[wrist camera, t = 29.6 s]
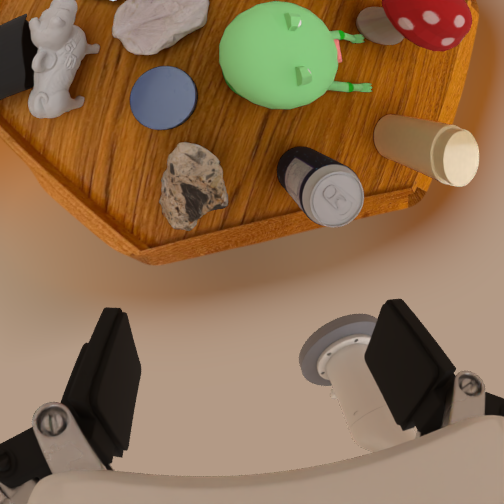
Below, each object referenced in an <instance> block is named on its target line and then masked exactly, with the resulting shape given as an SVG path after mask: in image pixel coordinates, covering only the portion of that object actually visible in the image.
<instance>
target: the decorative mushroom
mask: <svg viewBox="0 0 504 504" xmlns="http://www.w3.org/2000/svg"><path fill="white" fill-rule="evenodd" d="M382 6H383V7H368V8H365V9H363V10H362V11H361V12H360V13H359V15H358V17H357V20H356V26H357V28H358V31H359V32H360V33H361V34H362V35H363V36H364V37H365V38H366V39H368V40H370V41H372V42H375V43H379V44H384V45H394V44H397V43H399V42H400V41H402V40H403V39H404V37H405V38H406V39H408V40H409V41H411V42H413V43H414V44H416V45H417V46H420V47H423V48H426V49H429V50H432V51H446V50H448V49H451V48H453V47H455V46H457V45H458V44H459V43H460V42H461V41H462V39H463V38H464V36H465V35H466V34H467V33H468V32H469V30H470V28H471V24H472V15H471V12H470V9H469V7H468V5H467V4H466V2H465V1H464V0H382Z"/></svg>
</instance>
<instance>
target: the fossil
mask: <svg viewBox="0 0 504 504" xmlns="http://www.w3.org/2000/svg"><path fill="white" fill-rule="evenodd" d="M209 4H210V3H209V0H127V1H125V2H124V3H123V4H122V5H121V6H120V7H119V8H118V9H117V11H116V14H115V16H114V21H113V23H114V25H113V27H112V35H113V37H115V38H118V39H120V41H121V42H122V44H123V46H125V48H126V49H127V51H129V52H131V53H134V54H136V55H152V54H157V53H158V52H159V51H160V50H162V49H164V48H169V47H171V46H173V45H174V44H175V43H176V42H177V41H179V40H180V39H181V38H183V37H184V36H186V35H187V34H190V33H192V32H193V31H195V30H197V29H199V28H201V27H203V26H204V25H205V24H206V22H207V12H208V7H209Z"/></svg>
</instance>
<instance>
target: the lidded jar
mask: <svg viewBox="0 0 504 504" xmlns="http://www.w3.org/2000/svg"><path fill="white" fill-rule="evenodd" d="M374 143H375V146H376V148H377V150H378V152H379V153H380V154H381V155H382V156H383V157H385V158H387V159H389V160H392V161H394V162H396V163H399V164H401V165H404V166H406V167H408V168H411V169H413V170H415V171H417V172H420V173H422V174H424V175H426V176H428V177H431V178H433V179H435V180H437V181H439V182H441V183H443V184H447V185H452V186H458V187H461V186H465V185H466V184H468V183H469V182H470V181H471V180H472V179H473V177H474V175H475V174H476V171H477V168H478V163H479V149H478V145H477V143H476V140H475V138H474V137H473V136H472V134H471V133H470V132H468V131H467V130H464V129H461V128H459V127H457V126H455V125H451V124H447V123H442V122H437V121H432V120H427V119H422V118H416V117H410V116H404V115H397V114H388V115H385V116H384V117H382V118H381V119H380V120H379V121H378V123H377V124H376V127H375V130H374Z"/></svg>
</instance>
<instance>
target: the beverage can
mask: <svg viewBox="0 0 504 504" xmlns="http://www.w3.org/2000/svg"><path fill="white" fill-rule="evenodd" d="M277 176H278V179H279V182H280V183H281V185H282V186H283V187H284V188H285V190H286V191H287V192H288V193H289V194H290V196H291V197H292V198H293V199H294V201H295V202H296V203H297V204H298V205H299V207H300V208H301V209H302V210H303V212H304V213H305V214H306V215H307V217H308V218H309V219H310V220H312V221H313V222H315V223H317V224H319V225H323V226H327V227H341V226H344V225H346V224H348V223H349V222H351V221H352V220H354V219H355V218H356V216H357V215H358V214H359V212H360V210H361V208H362V206H363V201H364V191H363V188H362V185H361V183H360V181H359V179H358V177H357V175H356V174H355V172H354V171H353V170H351V169H350V168H349V167H347V166H345V165H343V164H341V163H339V162H337V161H335V160H333V159H331V158H329V157H327V156H325V155H323V154H321V153H319V152H317V151H315V150H313V149H311V148H308V147H295V148H292V149H290V150H288V151H287V152H286V153H285V154H284V155H283V156H282V157H281V159H280V161H279V163H278V167H277Z"/></svg>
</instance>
